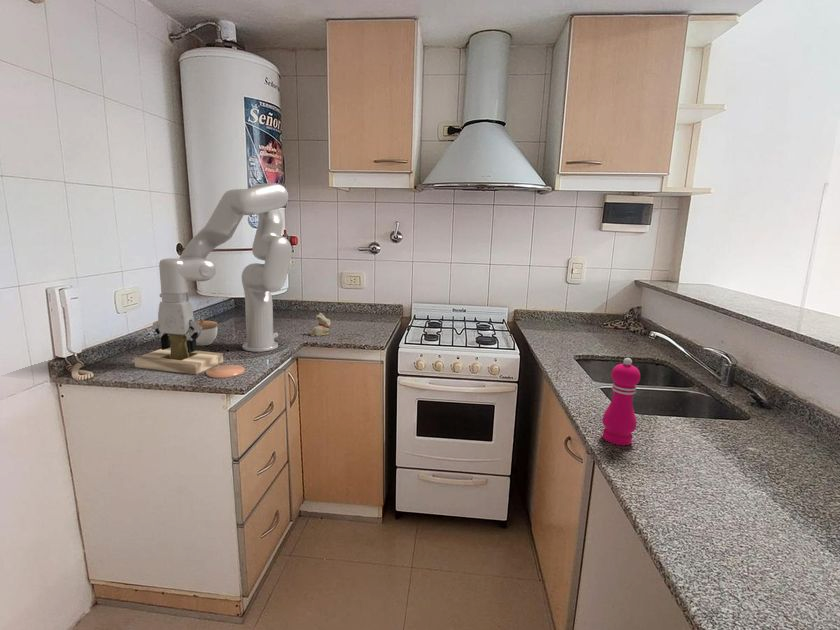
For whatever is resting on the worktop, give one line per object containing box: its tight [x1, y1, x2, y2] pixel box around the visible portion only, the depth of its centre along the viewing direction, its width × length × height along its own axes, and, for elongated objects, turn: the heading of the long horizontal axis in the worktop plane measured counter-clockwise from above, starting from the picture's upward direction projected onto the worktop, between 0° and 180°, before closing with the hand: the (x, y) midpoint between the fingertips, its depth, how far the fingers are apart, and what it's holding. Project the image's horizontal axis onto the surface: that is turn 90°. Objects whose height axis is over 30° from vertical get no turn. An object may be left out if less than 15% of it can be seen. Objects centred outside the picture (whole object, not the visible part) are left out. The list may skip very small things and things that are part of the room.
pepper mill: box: [601, 357, 641, 447], centre depth 101 cm, size 7×7×20 cm
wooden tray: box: [133, 347, 224, 375], centre depth 142 cm, size 13×22×3 cm, turn 78°
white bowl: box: [190, 318, 219, 346], centre depth 166 cm, size 11×11×9 cm
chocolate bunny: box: [309, 312, 332, 336], centre depth 185 cm, size 6×8×10 cm
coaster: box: [205, 364, 246, 379], centre depth 137 cm, size 11×11×1 cm
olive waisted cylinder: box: [168, 334, 189, 360], centre depth 141 cm, size 6×6×11 cm
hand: (179, 350), depth 141 cm, fingers open, 9 cm apart
